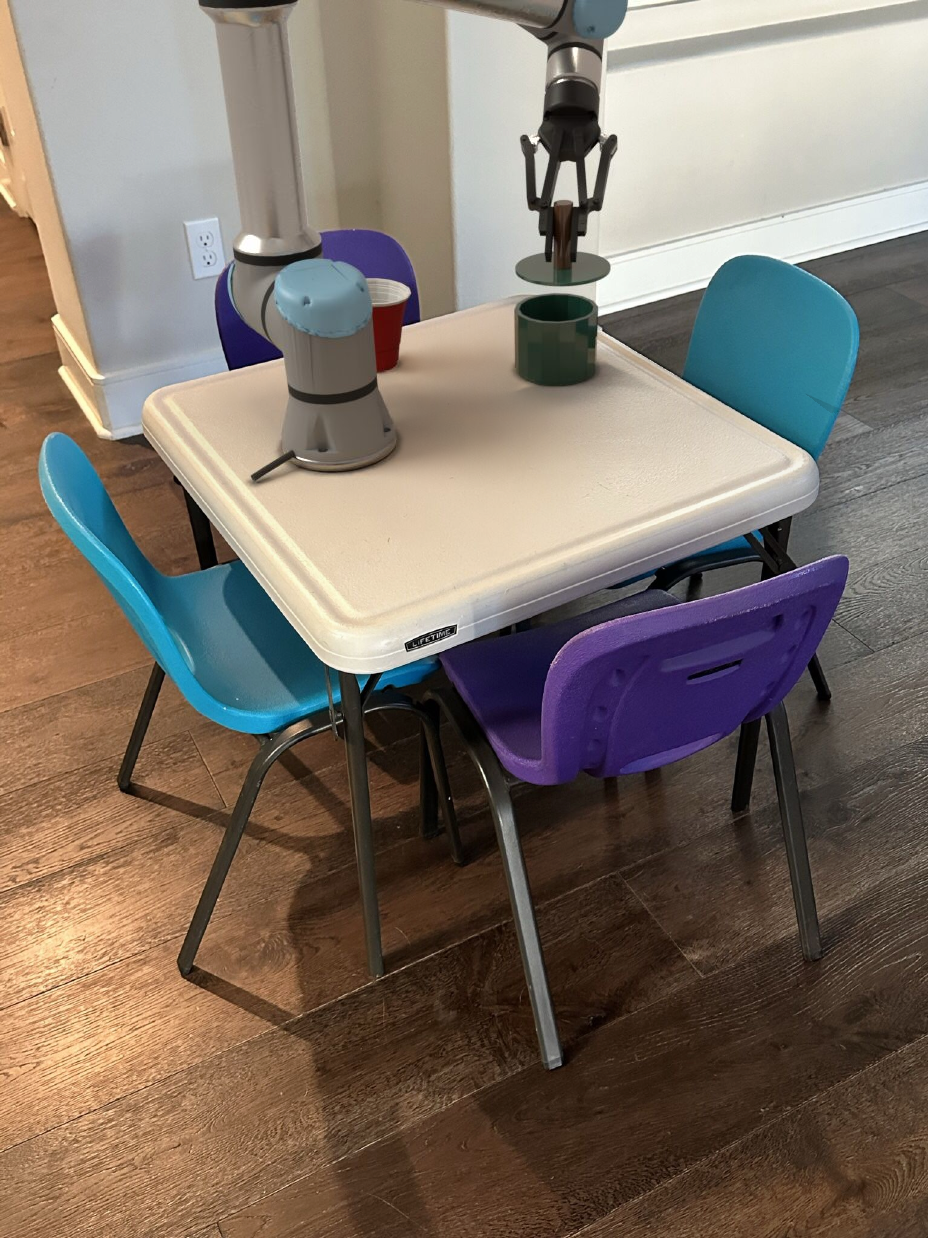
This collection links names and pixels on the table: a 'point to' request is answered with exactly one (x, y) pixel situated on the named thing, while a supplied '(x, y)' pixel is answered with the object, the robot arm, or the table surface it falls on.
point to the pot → (556, 338)
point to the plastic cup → (387, 319)
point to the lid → (562, 257)
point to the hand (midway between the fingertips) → (560, 257)
